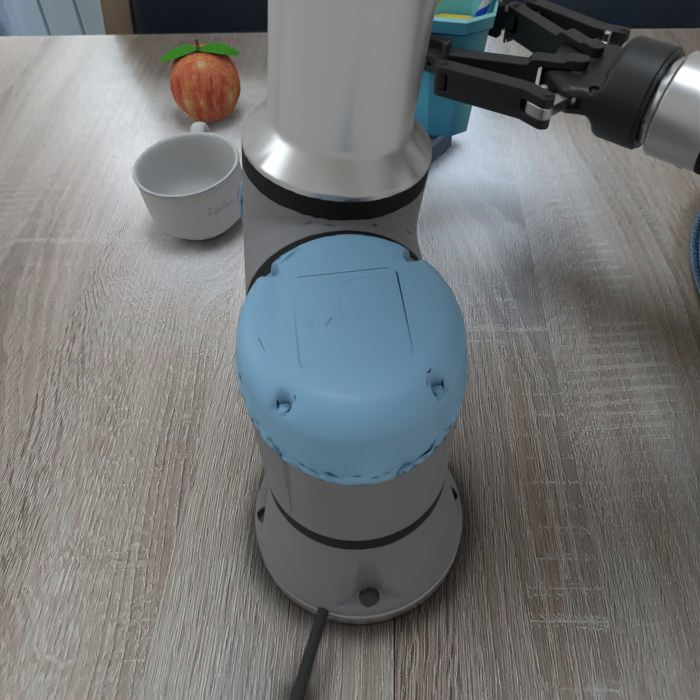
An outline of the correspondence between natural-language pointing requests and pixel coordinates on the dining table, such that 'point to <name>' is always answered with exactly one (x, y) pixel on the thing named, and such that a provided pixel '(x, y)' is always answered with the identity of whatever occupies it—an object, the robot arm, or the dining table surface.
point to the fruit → (204, 80)
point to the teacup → (191, 183)
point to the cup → (467, 33)
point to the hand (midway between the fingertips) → (413, 18)
